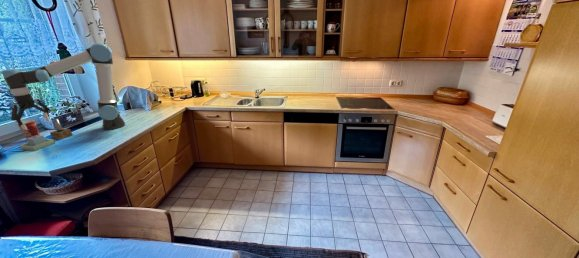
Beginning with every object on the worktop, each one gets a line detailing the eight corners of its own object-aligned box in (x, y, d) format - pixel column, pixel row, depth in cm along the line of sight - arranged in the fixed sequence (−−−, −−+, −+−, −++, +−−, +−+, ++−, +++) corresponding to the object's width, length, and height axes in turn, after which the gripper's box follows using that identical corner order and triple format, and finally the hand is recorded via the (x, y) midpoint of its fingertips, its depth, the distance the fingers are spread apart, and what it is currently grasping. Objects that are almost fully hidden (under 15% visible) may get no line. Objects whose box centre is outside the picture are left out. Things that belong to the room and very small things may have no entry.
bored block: (64, 134, 182) (61, 128, 180) (72, 135, 180) (70, 129, 178) (52, 138, 174) (49, 132, 173) (61, 139, 173) (58, 133, 171)
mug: (22, 140, 172) (13, 123, 167) (38, 136, 180) (30, 119, 175) (32, 143, 168) (24, 125, 163) (48, 138, 176) (40, 120, 171)
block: (40, 143, 166) (36, 135, 163) (46, 143, 164) (43, 135, 162) (29, 146, 160) (25, 138, 158) (36, 147, 159) (32, 139, 157)
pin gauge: (63, 136, 179) (56, 118, 174) (66, 136, 178) (59, 118, 173) (58, 137, 176) (51, 119, 171) (62, 138, 176) (54, 120, 170)
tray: (42, 142, 169) (40, 138, 168) (55, 143, 167) (53, 139, 166) (21, 149, 158) (19, 145, 157) (35, 151, 156) (33, 146, 155)
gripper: (39, 89, 163) (53, 118, 171) (-9, 99, 141) (9, 132, 149) (48, 89, 161) (61, 118, 170) (0, 99, 139) (18, 133, 147)
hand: (37, 125), depth 159 cm, fingers open, 13 cm apart
